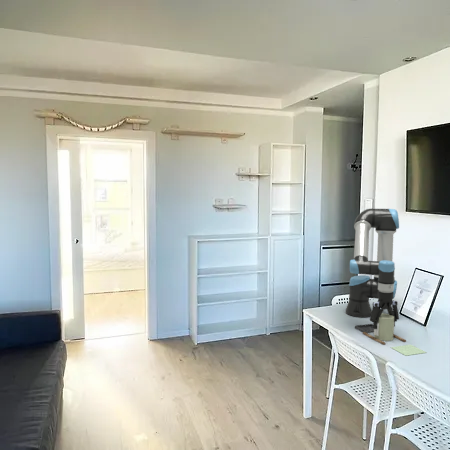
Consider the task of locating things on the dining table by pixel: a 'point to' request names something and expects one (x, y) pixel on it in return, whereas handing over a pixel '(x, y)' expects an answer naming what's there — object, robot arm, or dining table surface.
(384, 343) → the lane
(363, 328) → the tray
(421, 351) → the mat
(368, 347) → the dining table surface
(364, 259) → the robot arm
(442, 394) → the dining table surface
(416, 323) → the dining table surface
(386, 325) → the can
